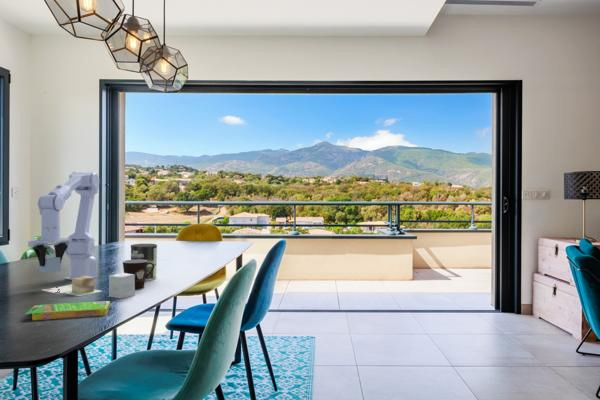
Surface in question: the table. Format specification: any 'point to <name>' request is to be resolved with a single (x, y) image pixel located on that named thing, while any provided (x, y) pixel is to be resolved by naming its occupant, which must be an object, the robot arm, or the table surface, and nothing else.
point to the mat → (83, 293)
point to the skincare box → (121, 285)
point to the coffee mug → (137, 271)
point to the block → (82, 284)
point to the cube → (50, 265)
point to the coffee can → (146, 257)
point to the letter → (62, 289)
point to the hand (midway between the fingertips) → (50, 265)
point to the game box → (69, 310)
